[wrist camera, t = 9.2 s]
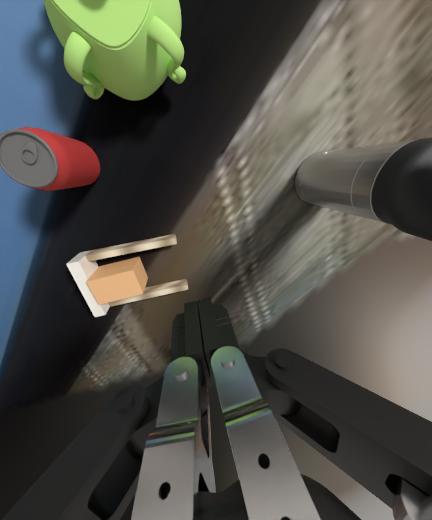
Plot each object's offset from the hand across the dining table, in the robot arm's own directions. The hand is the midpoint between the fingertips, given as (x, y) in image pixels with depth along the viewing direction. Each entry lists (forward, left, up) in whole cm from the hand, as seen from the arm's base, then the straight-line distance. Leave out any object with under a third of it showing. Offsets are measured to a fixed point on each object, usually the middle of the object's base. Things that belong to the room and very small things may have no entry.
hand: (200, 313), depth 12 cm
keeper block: (+15, +9, -29) cm, 34 cm away
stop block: (+20, +9, -29) cm, 36 cm away
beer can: (+15, -11, -29) cm, 35 cm away
